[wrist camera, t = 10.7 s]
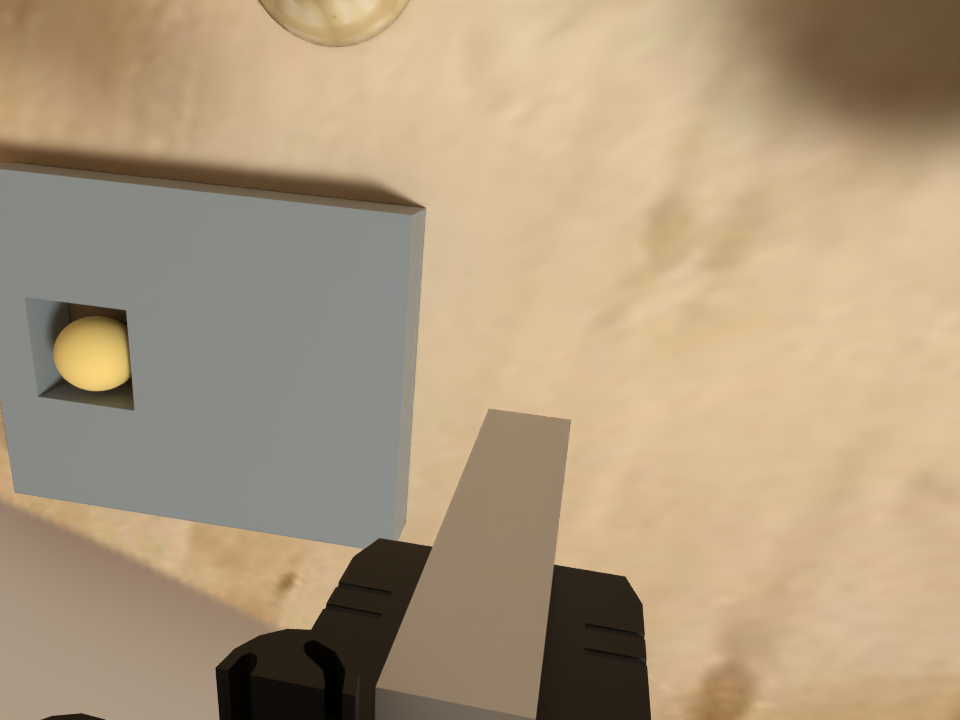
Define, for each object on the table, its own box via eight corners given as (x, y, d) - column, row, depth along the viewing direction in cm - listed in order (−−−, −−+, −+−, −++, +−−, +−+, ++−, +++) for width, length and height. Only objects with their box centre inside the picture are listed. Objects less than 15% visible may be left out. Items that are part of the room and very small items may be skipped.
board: (12, 162, 35) (-36, 164, 33) (426, 207, 33) (412, 215, 31) (52, 468, 41) (14, 492, 39) (405, 523, 39) (392, 553, 37)
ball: (143, 307, 38) (61, 306, 37) (129, 329, 34) (38, 328, 33) (148, 374, 39) (69, 375, 38) (135, 402, 36) (48, 404, 34)
